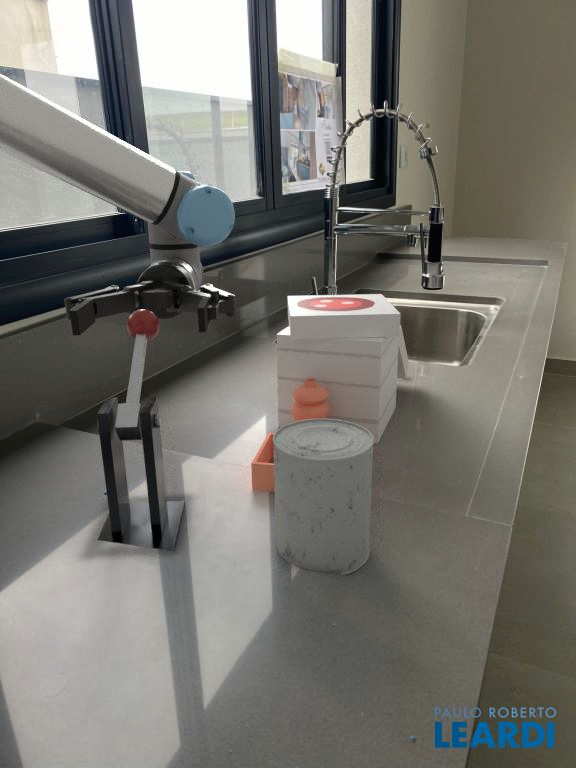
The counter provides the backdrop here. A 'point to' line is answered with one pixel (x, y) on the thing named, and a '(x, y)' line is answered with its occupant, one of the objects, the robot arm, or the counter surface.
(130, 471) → the counter surface
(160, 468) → the bracket
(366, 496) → the grey tin can
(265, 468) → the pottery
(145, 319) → the lever
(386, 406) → the pizza boxes
